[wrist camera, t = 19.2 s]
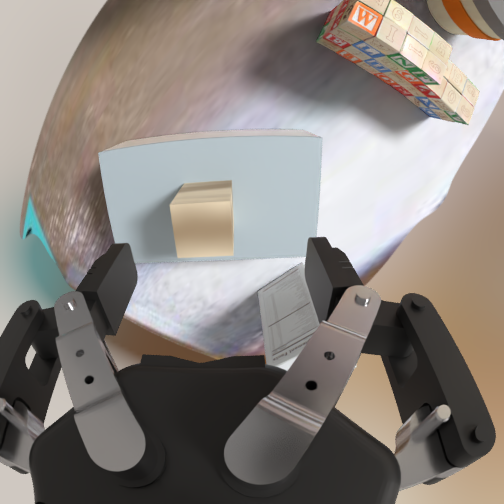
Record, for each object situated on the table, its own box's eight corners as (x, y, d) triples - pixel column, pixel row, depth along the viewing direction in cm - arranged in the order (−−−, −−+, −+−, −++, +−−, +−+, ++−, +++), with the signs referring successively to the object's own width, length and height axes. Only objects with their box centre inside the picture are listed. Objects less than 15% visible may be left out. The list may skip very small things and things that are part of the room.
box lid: (102, 151, 26) (98, 152, 26) (319, 136, 27) (322, 137, 26) (122, 259, 33) (120, 263, 32) (312, 252, 34) (314, 256, 33)
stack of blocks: (442, 88, 30) (495, 94, 20) (430, 117, 33) (483, 131, 22) (329, 10, 25) (366, -20, 15) (314, 42, 28) (347, 19, 17)
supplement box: (285, 320, 51) (300, 396, 37) (255, 291, 47) (263, 372, 33) (329, 294, 49) (359, 368, 34) (303, 260, 45) (331, 337, 30)
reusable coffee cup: (454, -15, 18) (508, -26, 5) (478, 44, 24) (538, 46, 11) (406, -21, 20) (462, -45, 7) (435, 44, 26) (501, 39, 13)
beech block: (184, 183, 28) (169, 204, 22) (231, 180, 28) (230, 201, 22) (189, 226, 31) (177, 258, 24) (234, 224, 31) (233, 255, 25)
